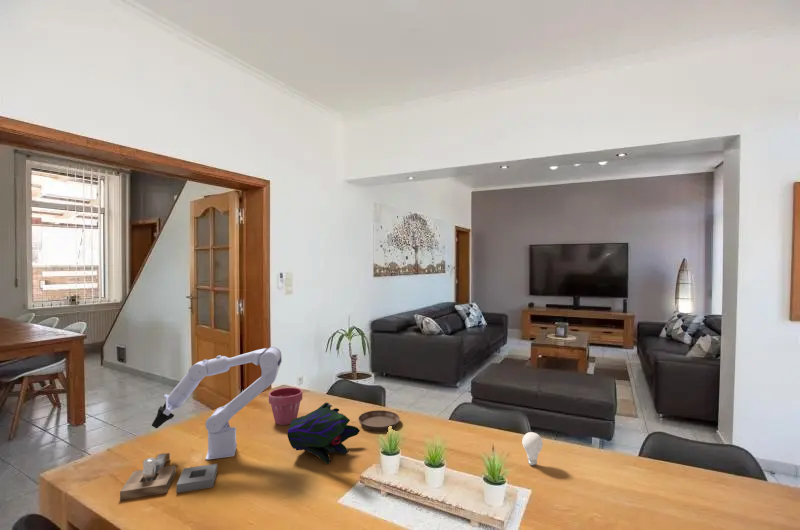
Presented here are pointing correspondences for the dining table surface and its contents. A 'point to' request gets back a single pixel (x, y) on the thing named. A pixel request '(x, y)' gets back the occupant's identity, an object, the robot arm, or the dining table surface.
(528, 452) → the light bulb
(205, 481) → the block
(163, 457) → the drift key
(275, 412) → the plant pot
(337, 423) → the decorative plant
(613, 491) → the dining table surface
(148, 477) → the peg
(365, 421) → the plant saucer
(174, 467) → the socket block
